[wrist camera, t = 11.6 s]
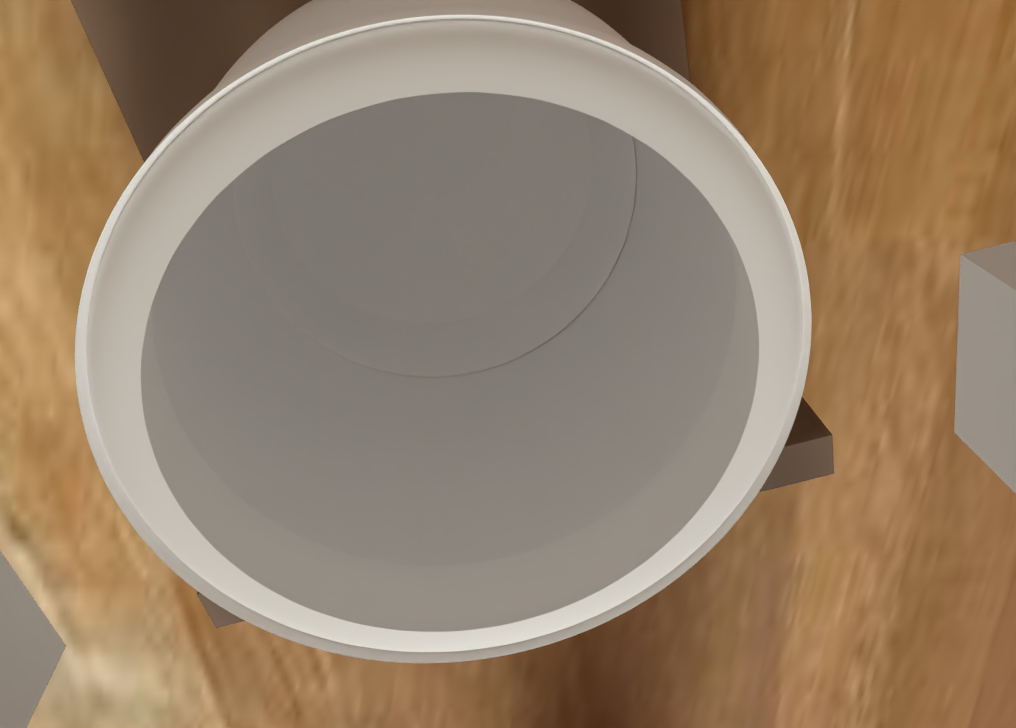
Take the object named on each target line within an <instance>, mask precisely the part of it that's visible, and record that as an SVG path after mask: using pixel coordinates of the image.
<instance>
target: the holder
mask: <svg viewBox="0 0 1016 728" xmlns="http://www.w3.org/2000/svg"><path fill="white" fill-rule="evenodd" d="M310 1H312V0H71V2H72V4H73V6H74V8H75V10H76V13H77V15H78V17H79V19H80V21H81V24H82V26H83V28H84V30H85V32H86V35H87V37H88V39H89V41H90V43H91V46H92V48H93V50H94V52H95V54H96V57H97V59H98V61H99V63H100V65H101V68H102V70H103V72H104V74H105V76H106V79H107V81H108V83H109V85H110V87H111V90H112V92H113V94H114V96H115V99H116V101H117V103H118V105H119V107H120V110H121V112H122V114H123V116H124V118H125V121H126V123H127V125H128V127H129V129H130V132H131V134H132V136H133V138H134V140H135V143H136V145H137V147H138V149H139V151H140V154H141V156H142V158H143V160H144V162H145V161H146V160H147V159H148V158H149V156H150V155H151V153H152V152H153V151H154V150H155V148H156V147H157V146H158V144H159V143H160V142H161V141H162V139H163V138H164V137H165V136H166V135H167V134H168V133H169V132H170V130H171V129H172V128H173V127H174V126H175V125H176V124H177V123H178V122H179V121H180V120H181V119H182V118H183V117H184V116H185V115H186V114H187V113H188V112H189V111H190V110H192V109H193V108H194V107H195V106H196V105H197V104H198V103H199V102H200V101H201V100H203V99H204V98H205V97H206V96H207V95H208V94H210V93H211V92H212V91H213V90H214V89H215V88H216V86H217V85H218V84H219V82H220V81H221V80H222V78H223V77H224V76H225V75H226V73H227V72H228V71H229V70H230V68H231V67H232V66H233V65H234V64H235V63H236V61H237V60H238V59H239V58H240V57H241V56H242V55H243V54H244V53H245V52H246V51H247V50H248V49H249V48H250V47H251V46H252V45H253V44H254V43H255V42H256V41H257V40H258V39H259V38H260V37H261V36H262V35H264V34H265V33H266V32H267V31H268V30H269V29H271V28H272V27H273V26H274V25H276V24H277V23H278V22H280V21H281V20H282V19H284V18H285V17H286V16H288V15H289V14H291V13H292V12H294V11H295V10H297V9H298V8H300V7H301V6H303V5H305V4H306V3H308V2H310ZM571 1H573V2H575V3H577V4H578V5H580V6H582V7H583V8H585V9H586V10H588V11H589V12H591V13H592V14H594V15H595V16H597V17H598V18H600V19H601V20H602V21H604V22H605V23H606V24H608V25H609V26H610V27H611V28H613V29H614V30H615V31H616V32H617V33H619V34H620V35H621V36H622V37H623V38H624V39H625V40H627V41H628V42H629V43H630V44H631V45H633V46H635V47H637V48H638V49H640V50H642V51H644V52H645V53H647V54H649V55H650V56H652V57H654V58H655V59H657V60H659V61H660V62H662V63H663V64H665V65H666V66H668V67H669V68H671V69H672V70H674V71H675V72H677V73H678V74H680V75H681V76H682V77H684V78H685V79H686V80H688V81H689V82H690V83H691V81H690V73H689V64H688V56H687V47H686V38H685V30H684V21H683V13H682V4H681V0H571ZM830 474H834V463H833V441H832V434H831V433H830V432H829V430H828V429H827V428H826V426H825V425H824V424H823V423H822V421H821V420H820V419H819V418H818V416H817V415H816V414H815V413H814V411H813V410H812V409H811V407H810V406H809V405H808V404H807V402H806V401H805V400H804V399H803V397H802V398H801V401H800V405H799V408H798V411H797V414H796V417H795V420H794V423H793V426H792V428H791V431H790V434H789V436H788V438H787V441H786V443H785V445H784V447H783V450H782V452H781V454H780V456H779V458H778V460H777V462H776V464H775V466H774V467H773V469H772V471H771V473H770V474H769V476H768V478H767V480H766V481H765V483H764V484H763V486H762V488H761V489H760V491H759V492H762V491H766V490H770V489H774V488H778V487H782V486H786V485H790V484H794V483H798V482H802V481H806V480H810V479H814V478H818V477H822V476H826V475H830ZM197 595H198V597H199V599H200V601H201V602H202V604H203V606H204V608H205V609H206V611H207V613H208V615H209V616H210V618H211V620H212V622H213V623H214V625H215V627H216V628H218V627H222V626H226V625H230V624H234V623H238V622H242V621H245V620H243V619H241V618H239V617H237V616H236V615H234V614H232V613H230V612H229V611H227V610H225V609H224V608H222V607H220V606H219V605H217V604H216V603H214V602H213V601H211V600H210V599H208V598H207V597H205V596H204V595H202V594H201V593H200V592H197Z"/></svg>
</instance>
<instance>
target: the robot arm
mask: <svg viewBox="0 0 1016 728" xmlns="http://www.w3.org/2000/svg"><path fill="white" fill-rule="evenodd" d="M954 433H955V434H956V435H957V436H958V437H959V438H960V439H961V440H962V441H963V442H964V443H965V444H967V445H968V446H969V447H970V448H971V449H972V450H973V451H974V452H975V453H976V454H977V455H978V456H979V457H980V458H981V459H982V460H983V461H984V462H985V463H986V464H987V465H988V466H989V467H990V468H991V469H992V470H993V471H994V472H995V473H996V474H997V475H998V476H999V477H1000V478H1001V479H1002V480H1003V481H1004V482H1005V483H1006V484H1007V485H1008V486H1009V487H1010V488H1011V489H1012V490H1013V491H1014V492H1015V493H1016V241H1013V242H1009V243H1005V244H1001V245H997V246H993V247H989V248H985V249H981V250H977V251H973V252H969V253H965V254H961V257H960V286H959V314H958V343H957V372H956V400H955V429H954ZM65 647H66V645H65V643H64V642H63V641H62V639H61V638H60V636H59V635H58V633H57V632H56V630H55V629H54V627H53V626H52V625H51V623H50V622H49V620H48V619H47V617H46V616H45V614H44V613H43V612H42V610H41V609H40V607H39V606H38V604H37V603H36V601H35V600H34V599H33V597H32V596H31V594H30V593H29V591H28V590H27V588H26V587H25V586H24V584H23V583H22V581H21V580H20V578H19V577H18V575H17V574H16V573H15V571H14V570H13V568H12V567H11V565H10V564H9V562H8V561H7V560H6V558H5V557H4V555H3V554H2V552H1V551H0V728H27V726H28V724H29V722H30V720H31V717H32V715H33V713H34V711H35V709H36V707H37V705H38V703H39V701H40V699H41V697H42V695H43V693H44V690H45V688H46V686H47V684H48V682H49V680H50V678H51V676H52V674H53V672H54V670H55V668H56V666H57V663H58V661H59V659H60V657H61V655H62V653H63V651H64V649H65Z"/></svg>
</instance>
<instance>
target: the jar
mask: <svg viewBox="0 0 1016 728" xmlns="http://www.w3.org/2000/svg"><path fill="white" fill-rule="evenodd" d="M810 345H811V300H810V290H809V282H808V276H807V270H806V265H805V261H804V256H803V252H802V249H801V245H800V242H799V238H798V235H797V232H796V229H795V227H794V224H793V221H792V219H791V216H790V214H789V211H788V209H787V207H786V205H785V202H784V200H783V198H782V196H781V194H780V192H779V190H778V188H777V187H776V185H775V183H774V181H773V180H772V178H771V176H770V175H769V173H768V171H767V170H766V168H765V167H764V165H763V164H762V162H761V161H760V159H759V158H758V156H757V155H756V154H755V152H754V151H753V150H752V148H751V147H750V145H749V144H748V142H747V141H746V140H745V138H744V137H743V136H742V134H741V133H740V132H739V131H738V129H737V128H736V127H735V126H734V125H733V124H732V122H731V121H730V120H729V119H728V118H727V117H726V116H725V115H724V114H723V113H722V112H721V111H720V110H719V109H718V108H717V107H716V106H715V105H714V104H713V103H712V102H711V101H710V100H709V99H708V98H707V97H706V96H705V95H704V94H703V93H702V92H701V91H700V90H698V89H697V88H696V87H695V86H694V85H693V84H691V83H690V82H689V81H688V80H686V79H685V78H684V77H682V76H681V75H680V74H678V73H677V72H675V71H674V70H672V69H671V68H669V67H668V66H666V65H665V64H663V63H662V62H660V61H659V60H657V59H655V58H654V57H652V56H650V55H649V54H647V53H645V52H644V51H642V50H640V49H638V48H637V47H635V46H633V45H631V44H630V43H629V42H628V41H627V40H625V39H624V38H623V37H622V36H621V35H620V34H619V33H617V32H616V31H615V30H614V29H613V28H611V27H610V26H609V25H608V24H606V23H605V22H604V21H602V20H601V19H600V18H598V17H597V16H595V15H594V14H592V13H591V12H589V11H588V10H586V9H585V8H583V7H582V6H580V5H578V4H577V3H575V2H573V1H571V0H312V1H310V2H308V3H306V4H305V5H303V6H301V7H300V8H298V9H297V10H295V11H294V12H292V13H291V14H289V15H288V16H286V17H285V18H284V19H282V20H281V21H280V22H278V23H277V24H276V25H274V26H273V27H272V28H271V29H269V30H268V31H267V32H266V33H265V34H264V35H262V36H261V37H260V38H259V39H258V40H257V41H256V42H255V43H254V44H253V45H252V46H251V47H250V48H249V49H248V50H247V51H246V52H245V53H244V54H243V55H242V56H241V57H240V58H239V59H238V60H237V61H236V63H235V64H234V65H233V66H232V67H231V68H230V70H229V71H228V72H227V73H226V75H225V76H224V77H223V78H222V80H221V81H220V82H219V84H218V85H217V86H216V88H215V89H214V90H213V91H212V92H211V93H210V94H208V95H207V96H206V97H205V98H204V99H203V100H201V101H200V102H199V103H198V104H197V105H196V106H195V107H194V108H193V109H192V110H190V111H189V112H188V113H187V114H186V115H185V116H184V117H183V118H182V119H181V120H180V121H179V122H178V123H177V124H176V125H175V126H174V127H173V128H172V129H171V130H170V132H169V133H168V134H167V135H166V136H165V137H164V138H163V139H162V141H161V142H160V143H159V144H158V146H157V147H156V148H155V150H154V151H153V152H152V153H151V155H150V156H149V158H148V159H147V160H146V161H145V163H144V164H143V165H142V167H141V168H140V169H139V171H138V172H137V173H136V175H135V176H134V177H133V179H132V180H131V182H130V183H129V185H128V186H127V188H126V189H125V191H124V192H123V194H122V196H121V197H120V199H119V201H118V202H117V204H116V206H115V207H114V209H113V211H112V213H111V215H110V217H109V219H108V221H107V223H106V225H105V227H104V229H103V231H102V233H101V236H100V238H99V240H98V243H97V245H96V248H95V250H94V253H93V256H92V259H91V261H90V265H89V268H88V271H87V274H86V278H85V282H84V286H83V290H82V294H81V299H80V304H79V310H78V317H77V326H76V338H75V372H76V384H77V393H78V400H79V405H80V411H81V416H82V420H83V424H84V428H85V432H86V435H87V438H88V441H89V445H90V447H91V450H92V453H93V456H94V458H95V461H96V463H97V466H98V468H99V470H100V472H101V475H102V477H103V479H104V481H105V483H106V485H107V487H108V489H109V491H110V492H111V494H112V496H113V498H114V499H115V501H116V503H117V504H118V506H119V508H120V509H121V511H122V512H123V514H124V515H125V517H126V518H127V519H128V521H129V522H130V524H131V525H132V526H133V528H134V529H135V530H136V532H137V533H138V534H139V535H140V537H141V538H142V539H143V540H144V541H145V543H146V544H147V545H148V546H149V547H150V548H151V549H152V550H153V552H154V553H155V554H156V555H157V556H158V557H159V558H160V559H161V560H162V561H163V562H164V563H165V564H166V565H167V566H168V567H169V568H170V569H172V570H173V571H174V572H175V573H176V574H177V575H178V576H179V577H181V578H182V579H183V580H184V581H185V582H187V583H188V584H189V585H190V586H192V587H193V588H194V589H196V590H197V591H198V592H200V593H201V594H202V595H204V596H205V597H207V598H208V599H210V600H211V601H213V602H214V603H216V604H217V605H219V606H220V607H222V608H224V609H225V610H227V611H229V612H230V613H232V614H234V615H236V616H237V617H239V618H241V619H243V620H245V621H247V622H249V623H251V624H253V625H255V626H257V627H259V628H261V629H264V630H266V631H268V632H270V633H273V634H275V635H278V636H280V637H283V638H286V639H288V640H291V641H294V642H297V643H300V644H303V645H306V646H309V647H313V648H316V649H320V650H324V651H328V652H332V653H336V654H341V655H346V656H351V657H357V658H363V659H370V660H378V661H388V662H402V663H447V662H461V661H472V660H480V659H487V658H493V657H499V656H504V655H509V654H514V653H519V652H523V651H527V650H531V649H535V648H538V647H542V646H545V645H549V644H552V643H555V642H558V641H561V640H564V639H567V638H569V637H572V636H575V635H577V634H580V633H582V632H585V631H587V630H590V629H592V628H594V627H597V626H599V625H601V624H603V623H605V622H607V621H609V620H611V619H613V618H615V617H617V616H619V615H621V614H623V613H625V612H627V611H629V610H630V609H632V608H634V607H636V606H637V605H639V604H641V603H642V602H644V601H646V600H647V599H649V598H650V597H652V596H653V595H655V594H656V593H658V592H659V591H661V590H662V589H664V588H665V587H666V586H668V585H669V584H671V583H672V582H673V581H675V580H676V579H677V578H679V577H680V576H681V575H682V574H684V573H685V572H686V571H687V570H689V569H690V568H691V567H692V566H693V565H694V564H696V563H697V562H698V561H699V560H700V559H701V558H702V557H703V556H704V555H706V554H707V553H708V552H709V551H710V550H711V549H712V548H713V547H714V546H715V545H716V544H717V543H718V542H719V541H720V540H721V539H722V538H723V536H724V535H725V534H726V533H727V532H728V531H729V530H730V529H731V528H732V526H733V525H734V524H735V523H736V522H737V520H738V519H739V518H740V517H741V516H742V514H743V513H744V512H745V510H746V509H747V508H748V506H749V505H750V504H751V502H752V501H753V499H754V498H755V497H756V495H757V494H758V492H759V491H760V489H761V488H762V486H763V484H764V483H765V481H766V480H767V478H768V476H769V474H770V473H771V471H772V469H773V467H774V466H775V464H776V462H777V460H778V458H779V456H780V454H781V452H782V450H783V447H784V445H785V443H786V441H787V438H788V436H789V434H790V431H791V428H792V426H793V423H794V420H795V417H796V414H797V411H798V408H799V405H800V401H801V398H802V394H803V390H804V385H805V381H806V375H807V370H808V363H809V355H810Z"/></svg>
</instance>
